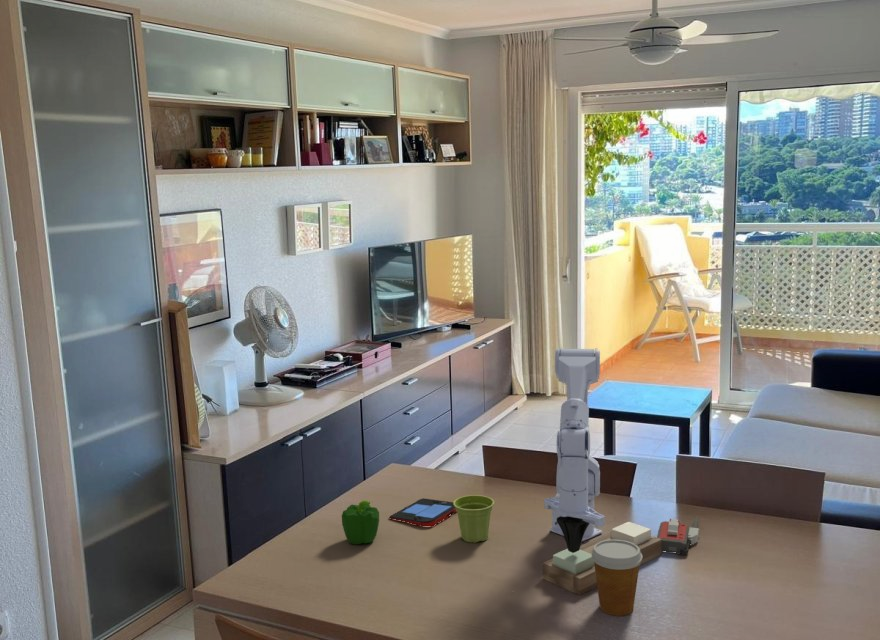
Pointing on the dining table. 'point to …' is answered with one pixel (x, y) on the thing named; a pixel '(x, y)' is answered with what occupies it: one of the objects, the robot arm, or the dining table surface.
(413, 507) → the game console
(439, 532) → the dining table surface
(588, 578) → the key base
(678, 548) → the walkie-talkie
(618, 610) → the disposable coffee cup
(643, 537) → the cream key
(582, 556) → the sage key
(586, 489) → the robot arm
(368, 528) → the bell pepper
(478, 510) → the plant pot
